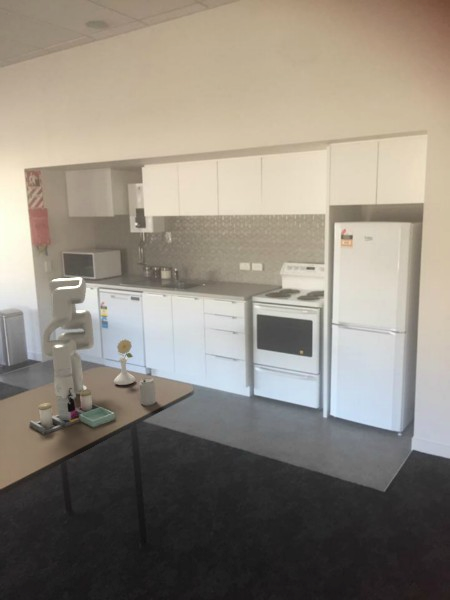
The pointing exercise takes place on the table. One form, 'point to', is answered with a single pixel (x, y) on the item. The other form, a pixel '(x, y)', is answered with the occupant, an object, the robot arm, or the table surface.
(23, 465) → the table surface
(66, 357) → the robot arm
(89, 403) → the cylinder
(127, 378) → the flower in vase
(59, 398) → the supplement box
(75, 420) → the clip holder
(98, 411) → the tray
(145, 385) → the can
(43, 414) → the fuse
